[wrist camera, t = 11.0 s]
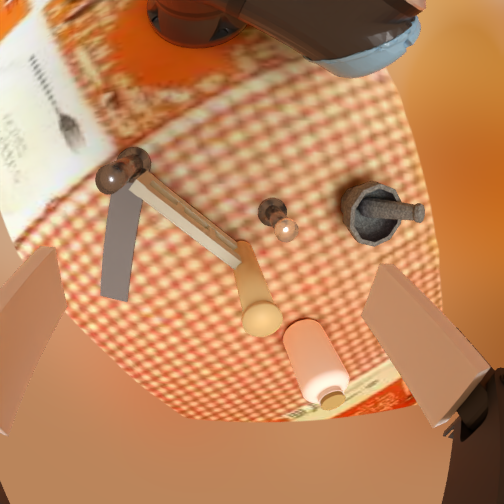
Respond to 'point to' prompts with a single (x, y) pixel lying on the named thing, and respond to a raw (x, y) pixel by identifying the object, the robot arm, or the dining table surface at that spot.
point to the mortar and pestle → (376, 212)
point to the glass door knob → (278, 219)
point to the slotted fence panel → (218, 253)
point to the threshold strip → (120, 243)
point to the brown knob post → (123, 170)
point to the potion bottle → (316, 364)
